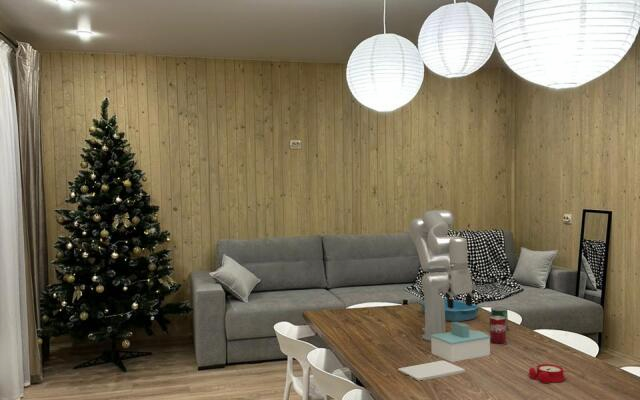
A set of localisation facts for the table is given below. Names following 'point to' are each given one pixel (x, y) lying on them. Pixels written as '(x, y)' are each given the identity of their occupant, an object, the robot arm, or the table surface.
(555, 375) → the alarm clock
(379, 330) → the table surface
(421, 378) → the mat
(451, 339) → the lid
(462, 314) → the casserole dish
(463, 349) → the tub
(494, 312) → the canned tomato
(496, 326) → the soda can
